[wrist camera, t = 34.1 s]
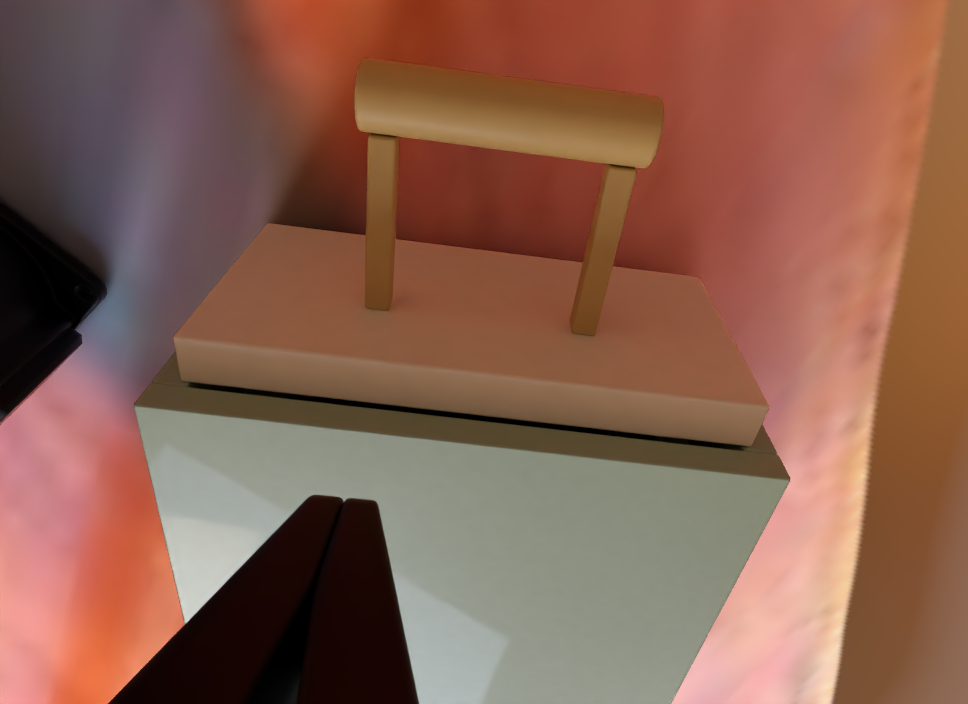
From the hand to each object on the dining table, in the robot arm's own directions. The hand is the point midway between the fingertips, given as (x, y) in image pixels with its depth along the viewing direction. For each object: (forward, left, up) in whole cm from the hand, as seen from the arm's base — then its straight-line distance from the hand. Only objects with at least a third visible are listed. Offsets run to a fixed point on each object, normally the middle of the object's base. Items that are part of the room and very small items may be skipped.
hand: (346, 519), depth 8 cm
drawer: (+5, -3, -12) cm, 13 cm away
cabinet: (+8, -6, -13) cm, 16 cm away
